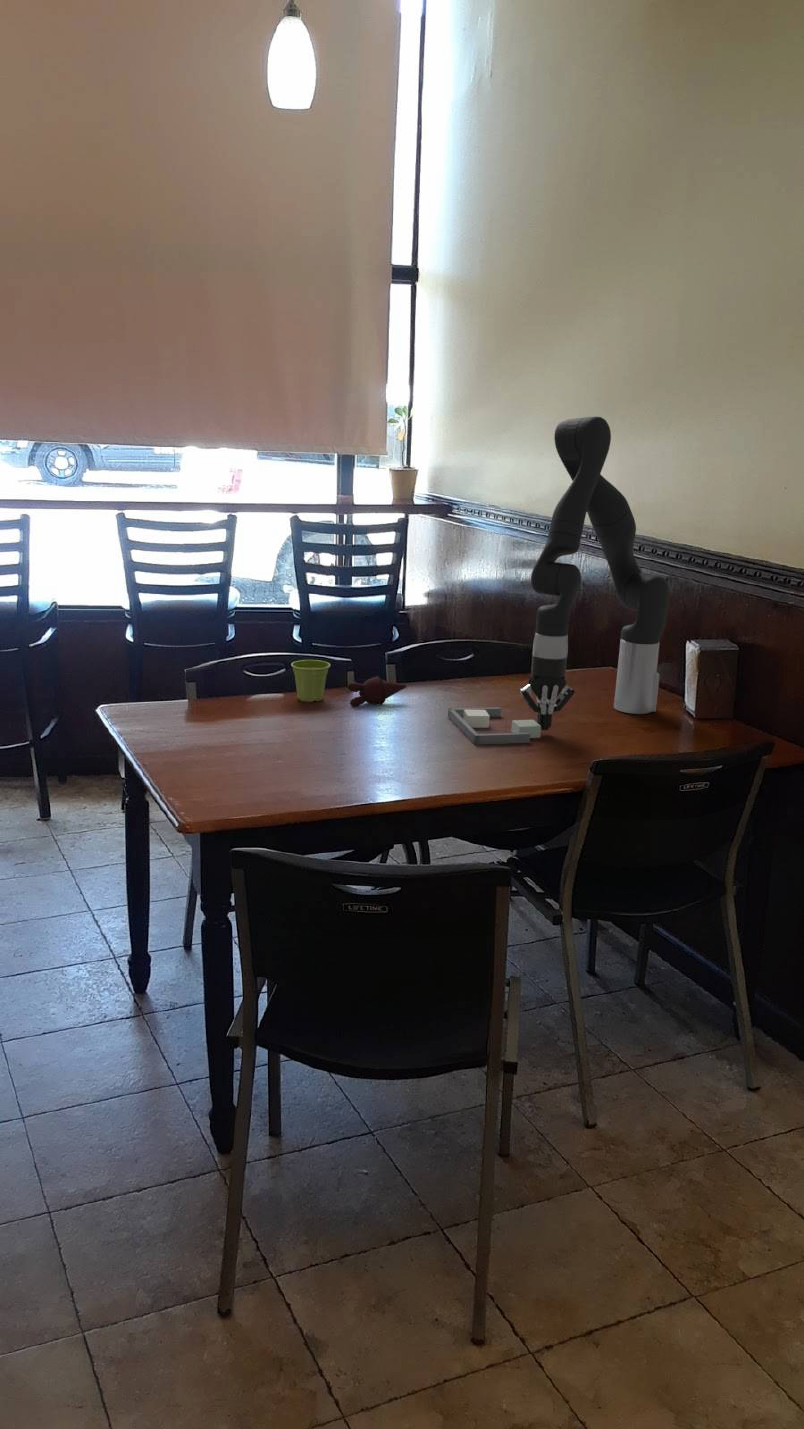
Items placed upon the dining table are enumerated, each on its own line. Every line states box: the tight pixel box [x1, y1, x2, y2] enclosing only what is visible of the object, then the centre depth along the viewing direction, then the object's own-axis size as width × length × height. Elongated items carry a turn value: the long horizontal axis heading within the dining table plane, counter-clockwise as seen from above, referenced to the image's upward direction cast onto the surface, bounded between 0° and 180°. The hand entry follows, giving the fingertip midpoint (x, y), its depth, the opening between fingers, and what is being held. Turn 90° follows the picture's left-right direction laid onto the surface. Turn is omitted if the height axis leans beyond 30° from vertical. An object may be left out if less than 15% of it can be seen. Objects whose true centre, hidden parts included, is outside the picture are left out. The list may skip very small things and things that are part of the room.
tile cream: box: [463, 710, 491, 729], centre depth 254 cm, size 5×5×3 cm
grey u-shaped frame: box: [447, 706, 531, 746], centre depth 251 cm, size 12×21×2 cm, turn 14°
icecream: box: [346, 675, 407, 707], centre depth 267 cm, size 7×7×15 cm
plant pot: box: [290, 659, 331, 703], centre depth 268 cm, size 9×9×9 cm
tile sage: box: [510, 719, 542, 739], centre depth 248 cm, size 5×5×3 cm
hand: (543, 729), depth 249 cm, fingers closed
